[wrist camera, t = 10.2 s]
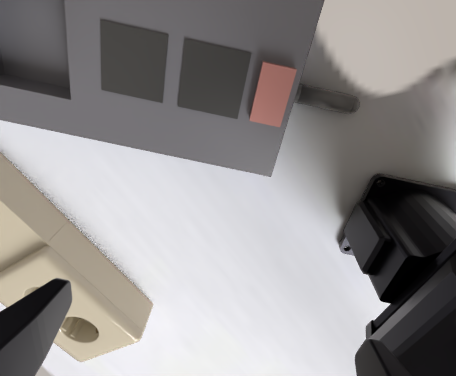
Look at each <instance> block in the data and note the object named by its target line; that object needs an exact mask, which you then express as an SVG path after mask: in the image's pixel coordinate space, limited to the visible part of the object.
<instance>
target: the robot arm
mask: <svg viewBox="0 0 456 376" xmlns="http://www.w3.org/2000/svg"><path fill="white" fill-rule="evenodd" d="M380 180H383V181H382V183H380V184H377V182H378V181H380ZM345 246H348V247H347V248H344V247H345ZM339 248H340V250H341V252H342V253H344V254H349V255H354V256H355V258H356V260H357V262H358V265H359V267H360V269H361V271H362V272H363V274H367V275H369V278H370V280H371V282H372V284H373V286H374V288H375V290H376V292H377V295H378V297H379V299H380V301H382V302H386V303H391V304H390V305H389V306H388V307H387V308H386V309H385V310H384V311H383V312H382V313H381V314H380V315H379V316H378V317H377V318H376V319H375V320H372V321H371V322H370V323H369V324H368V325H367V326H366V340H365V341H364V342H363V344H362V345H361V347H360V348H359V350H358V351H357V353H356V355H355V366H356V373H357V376H456V190H455V189H450V188H446V187H441V186H436V185H431V184H427V183H422V182H417V181H413V180H408V179H403V178H399V177H394V176H389V175H385V174H377V175H375V176H373V177H372V179H371V180H370V182H369V184H368V187H367V189H366V191H365V193H364V195H363V197H362V199H361V201H359V202H358V203H357V204H356V206H355V208H354V210H353V212H352V214H351V216H350V218H349V220H348V222H347V224H346V226H345V229H344V235H343V237H342V239H341V241H340V243H339ZM71 304H72V289H71V282H70V281H69V280H66V279H61V278H55V279H52V280H51V281H49V282H47V283H46V284H44V285H43V286H41V287H39V288H38V289H36V290H35V291H33V292H31V293H30V294H28V295H27V296H25V297H23V298H22V299H20V300H18V301H17V302H15V303H14V304H12V305H10V306H9V307H7V308H6V309H4V310H2V311H1V312H0V376H35V375H36V373H37V371H38V369H39V368H40V366H41V365H42V363H43V361H44V360H45V358H46V356H47V354H48V352H49V350H50V348H51V346H52V344H53V342H54V339H55V337H56V335H57V333H58V331H59V329H60V327H61V325H62V323H63V321H64V319H65V317H66V315H67V313H68V311H69V309H70V306H71Z"/></svg>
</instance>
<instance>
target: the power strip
mask: <svg viewBox="0 0 456 376" xmlns="http://www.w3.org/2000/svg"><path fill="white" fill-rule="evenodd" d="M323 3H324V0H0V120H3V121H8V122H13V123H18V124H22V125H27V126H32V127H37V128H41V129H46V130H51V131H55V132H60V133H65V134H70V135H74V136H79V137H84V138H89V139H93V140H98V141H103V142H108V143H112V144H117V145H122V146H127V147H131V148H136V149H141V150H146V151H150V152H155V153H160V154H165V155H169V156H174V157H179V158H184V159H188V160H193V161H198V162H203V163H207V164H212V165H217V166H222V167H226V168H231V169H236V170H241V171H245V172H250V173H255V174H260V175H264V176H269V177H271V175H272V172H273V169H274V165H275V162H276V159H277V155H278V152H279V149H280V145H281V142H282V139H283V135H284V132H285V129H286V126H287V122H288V119H289V116H290V112H291V109H292V106H293V102H297V103H301V104H306V105H310V106H315V107H319V108H324V109H329V110H333V111H338V112H342V113H347V114H351V113H354V112H356V111H357V110H358V108H359V105H360V102H359V100H358V98H357V97H355V96H352V95H348V94H343V93H339V92H334V91H330V90H325V89H321V88H316V87H312V86H307V85H303V84H299V83H300V79H301V76H302V73H303V69H304V66H305V63H306V59H307V56H308V53H309V50H310V46H311V43H312V40H313V36H314V33H315V30H316V26H317V23H318V20H319V16H320V13H321V10H322V7H323Z"/></svg>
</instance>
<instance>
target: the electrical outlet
mask: <svg viewBox="0 0 456 376" xmlns="http://www.w3.org/2000/svg"><path fill="white" fill-rule="evenodd" d="M55 278H61V279H66V280H69V281H70V282H71V289H72V304H71V306H70V309H69V311H68V313H67V315H66V317H65V319H64V321H63V323H62V325H61V327H60V329H59V331H58V333H57V335H56V337H55V339H54V342H53V343H55V344H56V345H57V346H59V347H60V348H61V349H63V350H64V351H65V352H67V353H68V354H69V355H71V356H72V357H73V358H74V359H76V360H77V361H79V362H84V361H86V360H89V359H92V358H95V357H97V356H100V355H103V354H106V353H109V352H111V351H114V350H117V349H120V348H123V347H125V346H128V345H131V344H134V343H136V342H139V341H140V339H141V338H142V335H143V332H144V330H145V327H146V324H147V321H148V318H149V316H150V313H151V310H152V307H153V303H152V302H151V301H150V300H149V299H148V298H147V297H146V296H145V295H144V294H143V293H142V292H141V291H140V290H139V289H138V288H137V287H136V286H135V285H134V284H133V283H132V282H131V281H130V280H129V279H128V278H127V277H126V276H125V275H124V274H123V273H122V272H121V271H120V270H119V269H118V268H117V267H116V266H115V265H114V264H113V263H112V262H111V261H110V260H109V259H108V258H107V257H106V256H105V255H104V254H103V253H102V252H100V251H99V250H98V249H97V248H96V247H95V246H94V245H93V244H92V243H91V242H90V241H89V240H88V239H87V238H86V237H85V236H84V235H83V234H82V233H81V232H80V231H79V230H78V229H77V228H76V227H75V226H74V225H73V224H72V223H71V222H70V221H69V220H68V219H67V218H66V217H65V216H64V215H63V214H62V213H61V212H60V211H59V210H58V209H57V208H56V207H55V206H54V205H53V204H52V203H51V202H50V201H49V200H48V199H47V198H46V197H45V196H44V195H43V194H42V193H41V192H40V191H39V190H38V189H37V188H36V187H35V186H34V185H33V184H32V183H31V182H30V181H29V180H28V179H27V178H26V177H25V176H24V175H23V174H22V173H21V172H20V171H19V170H18V169H17V168H16V167H15V166H14V165H13V164H12V163H11V162H10V161H9V160H8V159H7V158H6V157H5V156H4V155H3V154H2V153H1V152H0V302H1V303H2V304H3V305H5V306H6V307H9V306H10V305H12V304H14V303H15V302H17V301H18V300H20V299H22V298H23V297H25V296H27V295H28V294H30V293H31V292H33V291H35V290H36V289H38V288H39V287H41V286H43V285H44V284H46V283H47V282H49V281H51V280H52V279H55Z"/></svg>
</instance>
